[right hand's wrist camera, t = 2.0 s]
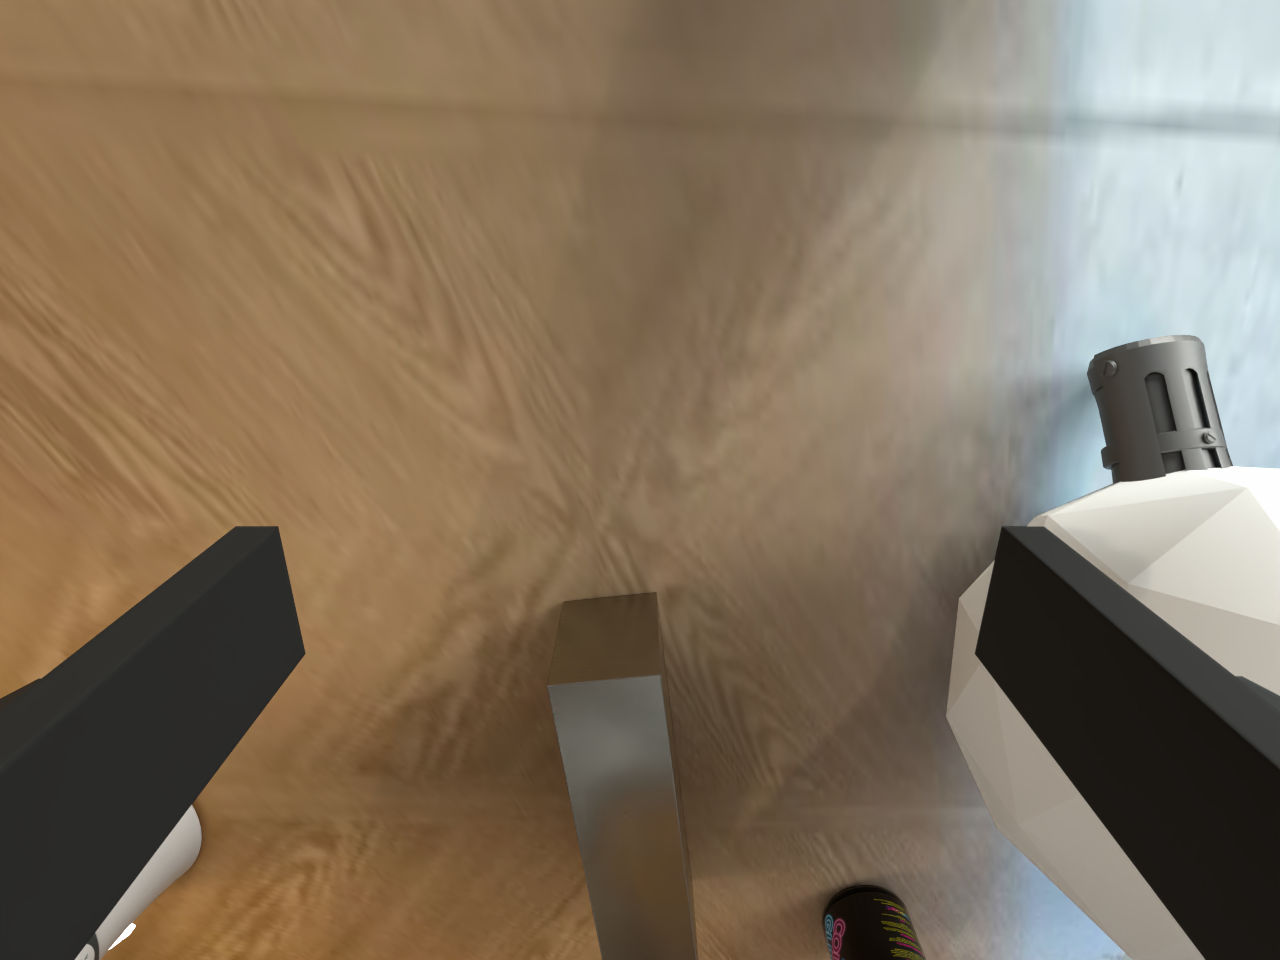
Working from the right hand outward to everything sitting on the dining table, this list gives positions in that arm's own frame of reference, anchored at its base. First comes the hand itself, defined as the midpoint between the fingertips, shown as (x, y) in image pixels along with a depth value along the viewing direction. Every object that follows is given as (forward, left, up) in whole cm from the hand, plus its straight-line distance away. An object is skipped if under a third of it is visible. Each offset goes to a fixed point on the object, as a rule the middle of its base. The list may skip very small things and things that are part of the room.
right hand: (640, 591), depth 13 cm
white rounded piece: (-26, +16, -27) cm, 41 cm away
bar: (+4, +29, -27) cm, 40 cm away
